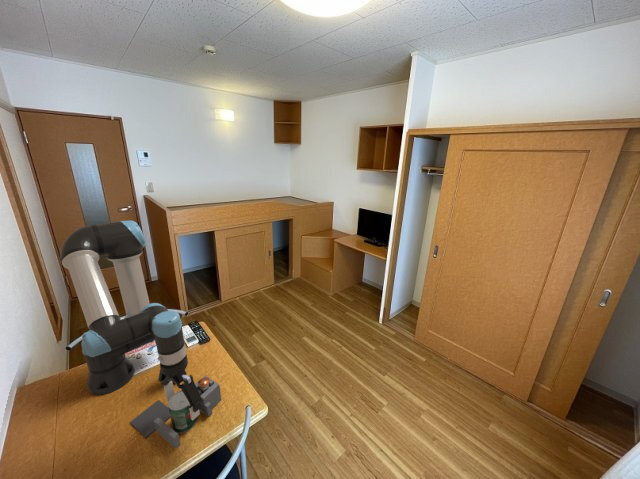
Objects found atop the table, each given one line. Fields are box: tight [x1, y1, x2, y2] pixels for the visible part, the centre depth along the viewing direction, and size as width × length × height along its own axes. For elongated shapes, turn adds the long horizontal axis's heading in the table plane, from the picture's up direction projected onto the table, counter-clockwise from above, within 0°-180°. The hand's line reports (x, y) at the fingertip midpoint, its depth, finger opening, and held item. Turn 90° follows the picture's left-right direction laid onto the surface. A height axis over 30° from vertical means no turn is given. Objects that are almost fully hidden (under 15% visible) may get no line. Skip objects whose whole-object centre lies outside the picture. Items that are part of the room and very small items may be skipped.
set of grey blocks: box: [154, 375, 222, 450], centre depth 93 cm, size 11×20×8 cm, turn 151°
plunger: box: [197, 376, 211, 394], centre depth 97 cm, size 4×4×7 cm
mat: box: [129, 399, 171, 439], centre depth 92 cm, size 10×10×1 cm
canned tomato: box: [167, 390, 198, 434], centre depth 90 cm, size 8×8×11 cm
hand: (182, 407), depth 89 cm, fingers open, 13 cm apart
